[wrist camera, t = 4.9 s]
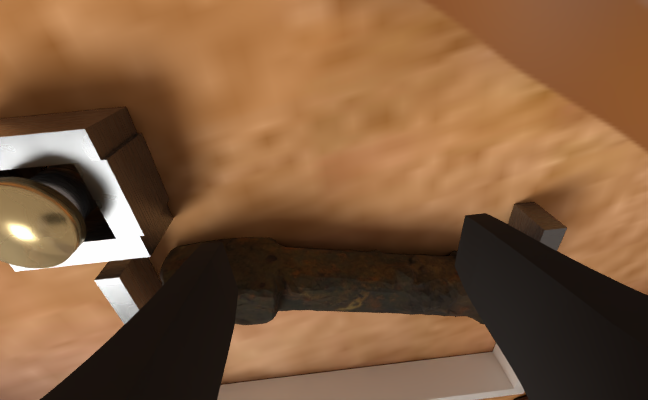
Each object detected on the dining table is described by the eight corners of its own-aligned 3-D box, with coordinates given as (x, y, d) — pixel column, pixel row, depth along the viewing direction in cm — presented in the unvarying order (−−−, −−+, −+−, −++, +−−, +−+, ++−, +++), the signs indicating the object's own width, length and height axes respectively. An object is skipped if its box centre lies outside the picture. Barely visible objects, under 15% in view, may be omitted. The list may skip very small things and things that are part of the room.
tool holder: (508, 274, 21) (538, 311, 18) (117, 319, 20) (91, 364, 17) (583, 63, 14) (649, 74, 11) (-21, 120, 13) (-99, 146, 10)
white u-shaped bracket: (501, 356, 26) (523, 393, 24) (179, 396, 26) (166, 438, 23) (523, 304, 23) (552, 340, 20) (148, 348, 22) (128, 392, 19)
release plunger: (135, 209, 15) (92, 263, 12) (62, 217, 15) (-3, 273, 12) (102, 141, 13) (39, 182, 10) (17, 149, 13) (-74, 194, 10)
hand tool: (485, 241, 19) (533, 298, 15) (458, 285, 21) (495, 346, 17) (173, 204, 16) (133, 264, 12) (176, 259, 18) (143, 326, 14)
